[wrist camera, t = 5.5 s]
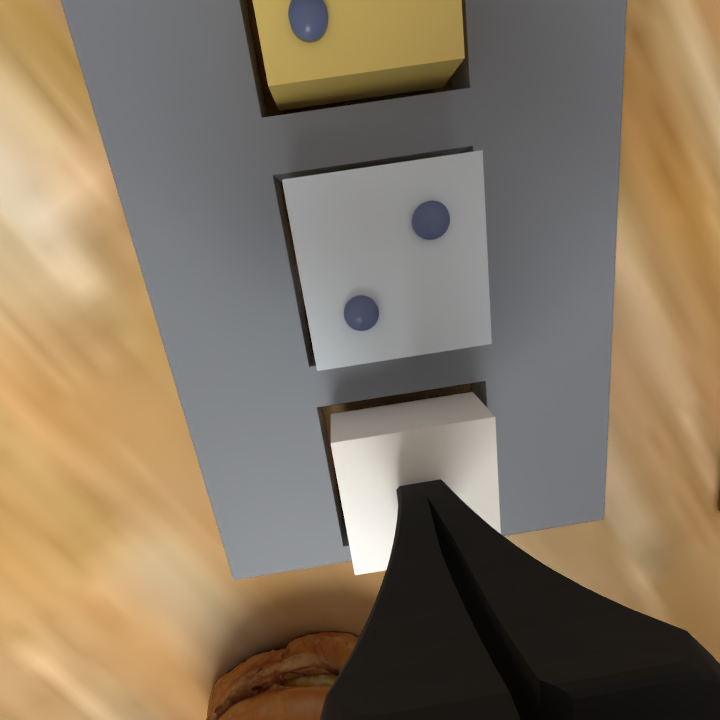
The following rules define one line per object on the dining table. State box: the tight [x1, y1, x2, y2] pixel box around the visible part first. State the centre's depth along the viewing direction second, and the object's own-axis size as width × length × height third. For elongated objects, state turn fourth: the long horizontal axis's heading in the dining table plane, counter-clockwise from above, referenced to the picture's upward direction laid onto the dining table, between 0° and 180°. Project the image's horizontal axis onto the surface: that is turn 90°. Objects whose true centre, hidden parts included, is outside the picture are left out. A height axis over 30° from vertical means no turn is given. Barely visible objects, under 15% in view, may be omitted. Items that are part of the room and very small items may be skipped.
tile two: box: [282, 150, 492, 371], centre depth 11 cm, size 5×5×2 cm
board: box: [61, 0, 627, 580], centre depth 13 cm, size 14×21×2 cm, turn 8°
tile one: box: [330, 392, 501, 575], centre depth 13 cm, size 5×5×2 cm
